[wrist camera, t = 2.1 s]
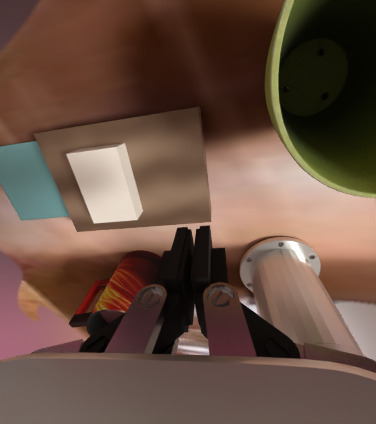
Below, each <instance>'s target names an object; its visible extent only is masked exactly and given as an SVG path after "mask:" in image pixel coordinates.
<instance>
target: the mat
mask: <svg viewBox="0 0 376 424" xmlns="http://www.w3.org/2000/svg"><path fill="white" fill-rule="evenodd" d="M0 184H1V186H2V188H3V189H4V191H5V193H6V195H7V196H8V198H9V200H10V202H11V203H12V205H13V207H14V209H15V210H16V212H17V214H18V216H19V217H20V219H21V220H32V219H43V218H55V217H66V216H70V215H69V212H68V210H67V208H66V206H65V203H64V201H63V199H62V197H61V194H60V192H59V190H58V188H57V186H56V183H55V181H54V179H53V177H52V174H51V172H50V170H49V168H48V165H47V163H46V161H45V159H44V157H43V154H42V152H41V150H40V148H39V145H38V143H37V141H32V142H26V143H19V144H13V145H6V146H0Z"/></svg>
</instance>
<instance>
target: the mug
mask: <svg viewBox="0 0 376 424" xmlns="http://www.w3.org/2000/svg"><path fill="white" fill-rule="evenodd" d="M161 259H162V258H161V257H160V256H158V255H156V254H154V253H152V252H149V251H133V252H130V253H128V254H127V255H125V256H124V257H123V258H122V260H121V262H120V264H119V265H118V267H117V269H116V271H115V272H114V274H113V276H112V278H111V279H106V280H101V281H96V282H95V283H94V285H93V286H92V288H91V289H90V291H89V292H88V294H87V295H86V298H85V299H84V301H83V302H82V304H81V305H80V307H79V309H78V310H77V312H76V313H75V315H74V316H73V318H72V319H71V321H70V322H69V324H70V326H71V327H80V326H86V327H87V331H88V333H89V334H90V336H91V335H93V334H94V333H95V332H97V331H98V330H100V329H101V328H103V327H104V326H106V325H107V324H109V323H110V322H112V321H113V320H115V319H116V318H117V317H119V316H120V315H122V314H123V313H125V312H126V311H127V310H128V308H129V306H130V305H131V303H132V301H133V299H134V297H135V296H136V294H137V293H138V291H140V290H141V289H142V288H144V287H146V286H148V285H152V284H154V281H155V278H156V275H157V272H158V269H159V266H160V263H161ZM103 289H105V290H104V291H103V293H102V295H101V297H100V298H99V300H98V302H97V304H96V305H95V307H94V309H93V311H92V312H89V313H86V311H87V309H88V308H89V306H90V304H91V303H92V301H93V299H94V298H95V296H96V294H97V293H98V291H99V290H103Z"/></svg>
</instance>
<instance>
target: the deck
mask: <svg viewBox="0 0 376 424" xmlns="http://www.w3.org/2000/svg"><path fill="white" fill-rule="evenodd" d="M34 136H35V139H36V141H37V143H38V145H39V148H40V150H41V152H42V154H43V157H44V159H45V161H46V163H47V165H48V168H49V170H50V172H51V174H52V177H53V179H54V181H55V183H56V186H57V188H58V190H59V192H60V194H61V197H62V199H63V201H64V203H65V206H66V208H67V210H68V212H69V215H70V217H71V219H72V221H73V223H74V226H75V228H76V230H77V232H82V231H95V230H109V229H122V228H135V227H149V226H162V225H176V224H189V223H203V222H211V202H210V193H209V183H208V174H207V165H206V156H205V146H204V137H203V128H202V118H201V109H200V107H194V108H187V109H181V110H175V111H169V112H163V113H156V114H150V115H144V116H138V117H132V118H125V119H119V120H113V121H107V122H101V123H94V124H88V125H82V126H76V127H70V128H63V129H57V130H52V131H46V132H40V133H35V134H34ZM121 143H125V146H126V149H127V153H128V157H129V160H130V164H131V168H132V172H133V175H134V179H135V183H136V186H137V190H138V194H139V198H140V201H141V205H142V209H143V212H142V214H141V215H140V217H139V218H138V220H131V221H119V222H106V223H93V220H92V218H91V215H90V213H89V210H88V208H87V205H86V203H85V200H84V198H83V195H82V193H81V190H80V188H79V185H78V183H77V180H76V178H75V175H74V173H73V170H72V168H71V165H70V163H69V160H68V158H67V155H66V154H68V153H70V152H73V151H76V150H79V149H86V148H93V147H100V146H107V145H114V144H121Z"/></svg>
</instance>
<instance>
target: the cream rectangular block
mask: <svg viewBox="0 0 376 424" xmlns="http://www.w3.org/2000/svg"><path fill="white" fill-rule="evenodd" d="M66 155H67V158H68V160H69V163H70V165H71V168H72V170H73V173H74V175H75V178H76V180H77V183H78V185H79V188H80V190H81V193H82V195H83V198H84V200H85V203H86V205H87V208H88V210H89V213H90V215H91V218H92V220H93V223H106V222H119V221H131V220H138V218H139V217H140V215H141V214H142V212H143V209H142V205H141V201H140V198H139V194H138V190H137V186H136V183H135V179H134V175H133V172H132V168H131V164H130V160H129V157H128V153H127V149H126V146H125V143H121V144H114V145H107V146H100V147H93V148H86V149H79V150H76V151H73V152H70V153H68V154H66Z"/></svg>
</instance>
